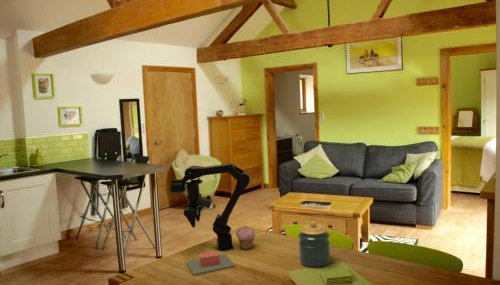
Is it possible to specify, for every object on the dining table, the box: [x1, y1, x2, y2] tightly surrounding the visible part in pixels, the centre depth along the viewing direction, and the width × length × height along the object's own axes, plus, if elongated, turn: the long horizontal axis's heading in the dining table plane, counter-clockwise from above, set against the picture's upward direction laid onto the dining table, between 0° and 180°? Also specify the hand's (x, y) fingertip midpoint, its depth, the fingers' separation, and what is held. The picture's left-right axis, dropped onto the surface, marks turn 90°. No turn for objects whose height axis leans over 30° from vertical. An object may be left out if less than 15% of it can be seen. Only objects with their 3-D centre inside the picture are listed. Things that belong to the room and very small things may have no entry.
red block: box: [199, 250, 220, 267], centre depth 177 cm, size 5×8×4 cm, turn 102°
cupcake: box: [236, 226, 256, 250], centre depth 194 cm, size 9×9×10 cm
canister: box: [297, 220, 332, 268], centre depth 173 cm, size 13×13×18 cm
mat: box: [185, 253, 236, 277], centre depth 177 cm, size 18×14×1 cm
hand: (196, 224), depth 196 cm, fingers open, 9 cm apart
